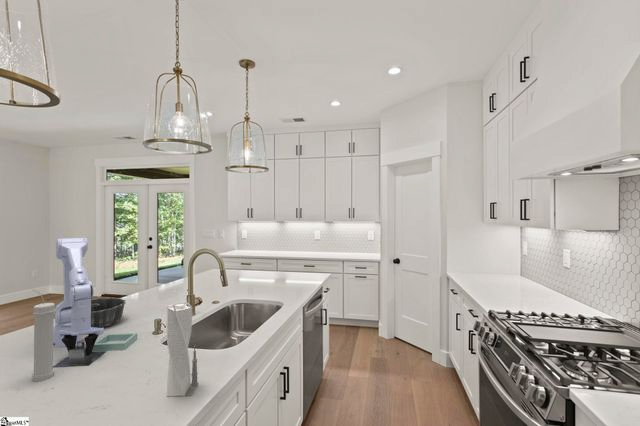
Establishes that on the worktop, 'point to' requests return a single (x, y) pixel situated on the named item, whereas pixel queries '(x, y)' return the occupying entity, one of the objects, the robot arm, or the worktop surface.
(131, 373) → the worktop surface
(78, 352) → the grey block
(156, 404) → the worktop surface
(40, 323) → the pipe
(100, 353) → the square lid with knob
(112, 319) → the bundt pan
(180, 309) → the skyscraper
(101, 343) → the bin
